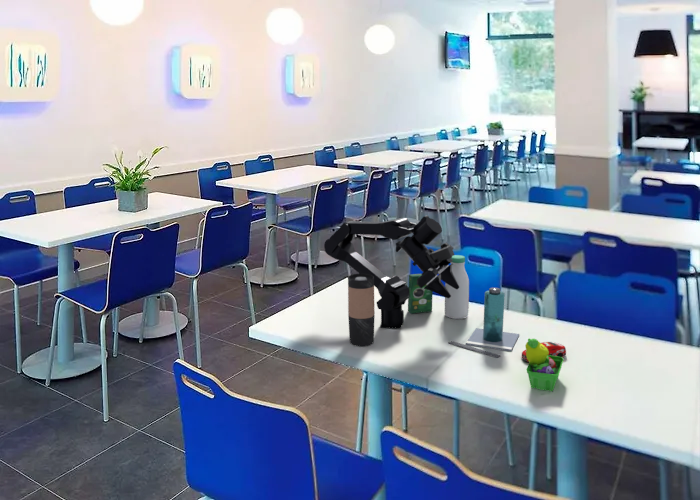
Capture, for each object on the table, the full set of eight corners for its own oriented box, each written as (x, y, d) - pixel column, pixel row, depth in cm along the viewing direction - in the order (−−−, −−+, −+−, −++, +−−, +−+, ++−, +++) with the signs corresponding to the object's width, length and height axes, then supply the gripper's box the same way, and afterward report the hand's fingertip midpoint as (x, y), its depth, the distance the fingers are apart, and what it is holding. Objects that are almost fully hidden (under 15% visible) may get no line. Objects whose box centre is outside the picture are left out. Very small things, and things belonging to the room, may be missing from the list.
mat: (465, 344, 178) (465, 342, 178) (476, 329, 189) (476, 327, 189) (511, 351, 173) (511, 349, 173) (519, 335, 184) (519, 333, 184)
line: (448, 343, 179) (448, 342, 179) (451, 341, 180) (451, 340, 180) (497, 357, 168) (497, 356, 168) (500, 356, 170) (500, 355, 169)
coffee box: (429, 308, 209) (430, 271, 205) (433, 311, 206) (433, 274, 203) (407, 311, 206) (407, 274, 203) (410, 314, 204) (411, 276, 200)
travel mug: (378, 339, 183) (378, 274, 178) (368, 348, 176) (367, 281, 171) (355, 335, 186) (354, 272, 181) (344, 344, 179) (343, 279, 174)
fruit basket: (557, 395, 147) (560, 351, 144) (519, 388, 151) (522, 345, 148) (562, 375, 157) (565, 334, 155) (527, 370, 161) (529, 329, 158)
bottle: (490, 343, 177) (492, 293, 174) (479, 336, 182) (481, 288, 179) (506, 340, 180) (508, 290, 176) (494, 333, 185) (496, 285, 181)
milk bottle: (468, 320, 197) (470, 259, 193) (443, 318, 199) (445, 259, 194) (468, 312, 205) (470, 254, 200) (445, 310, 206) (446, 253, 202)
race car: (529, 366, 164) (529, 352, 163) (516, 358, 169) (517, 345, 168) (569, 358, 168) (570, 344, 167) (556, 350, 173) (557, 337, 172)
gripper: (428, 242, 171) (465, 285, 169) (446, 229, 188) (481, 268, 186) (401, 267, 176) (437, 308, 174) (421, 252, 193) (455, 290, 191)
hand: (454, 292), depth 181 cm, fingers open, 9 cm apart
